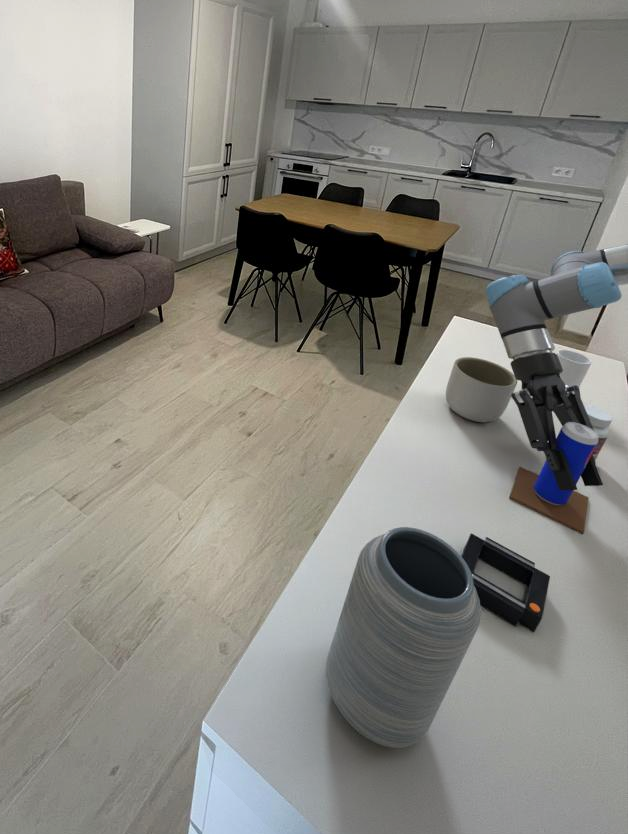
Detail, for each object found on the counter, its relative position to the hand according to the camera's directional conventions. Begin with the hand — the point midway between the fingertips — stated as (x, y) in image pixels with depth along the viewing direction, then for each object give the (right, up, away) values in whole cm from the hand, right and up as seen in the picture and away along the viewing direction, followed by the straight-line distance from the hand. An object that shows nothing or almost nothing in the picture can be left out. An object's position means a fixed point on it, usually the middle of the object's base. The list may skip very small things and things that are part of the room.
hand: (581, 487), depth 85 cm
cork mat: (-1, -4, +6) cm, 7 cm away
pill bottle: (+13, -1, +17) cm, 22 cm away
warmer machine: (-22, -10, -12) cm, 27 cm away
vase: (-47, -15, -27) cm, 56 cm away
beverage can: (-1, -4, +6) cm, 7 cm away
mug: (+25, +8, +39) cm, 47 cm away
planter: (-2, +6, +30) cm, 30 cm away
